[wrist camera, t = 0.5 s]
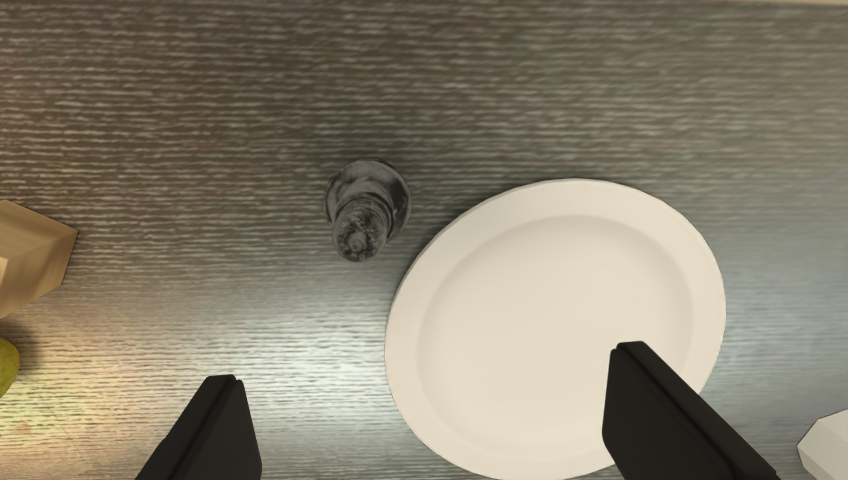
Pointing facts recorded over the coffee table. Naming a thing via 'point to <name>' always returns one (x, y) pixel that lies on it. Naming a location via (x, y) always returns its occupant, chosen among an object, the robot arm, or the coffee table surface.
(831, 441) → the mug
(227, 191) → the coffee table surface
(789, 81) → the coffee table surface
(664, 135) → the coffee table surface
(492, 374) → the plate
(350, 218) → the grey chess bishop
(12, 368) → the fruit
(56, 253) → the maple block
